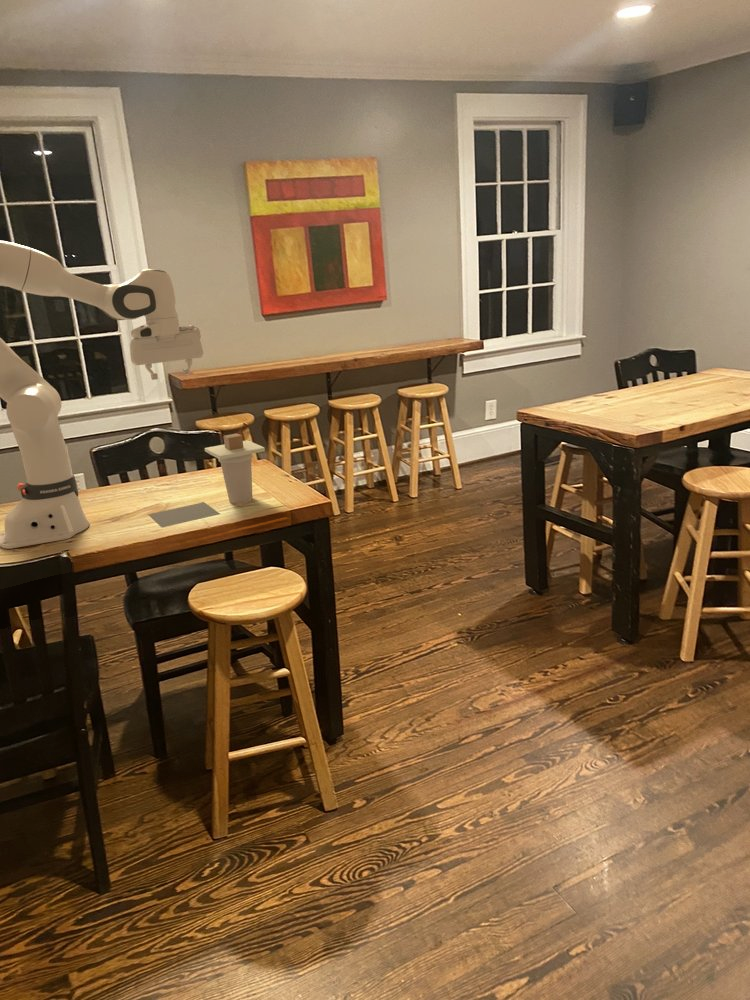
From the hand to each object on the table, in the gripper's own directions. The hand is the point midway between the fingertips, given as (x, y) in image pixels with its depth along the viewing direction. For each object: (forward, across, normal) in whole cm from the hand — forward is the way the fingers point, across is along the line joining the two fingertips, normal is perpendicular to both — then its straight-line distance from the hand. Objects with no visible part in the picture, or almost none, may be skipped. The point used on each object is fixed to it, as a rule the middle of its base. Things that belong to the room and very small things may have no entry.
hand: (171, 377), depth 210 cm
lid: (+20, -9, +21) cm, 30 cm away
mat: (+35, +8, +22) cm, 42 cm away
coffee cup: (+35, -9, +21) cm, 42 cm away
